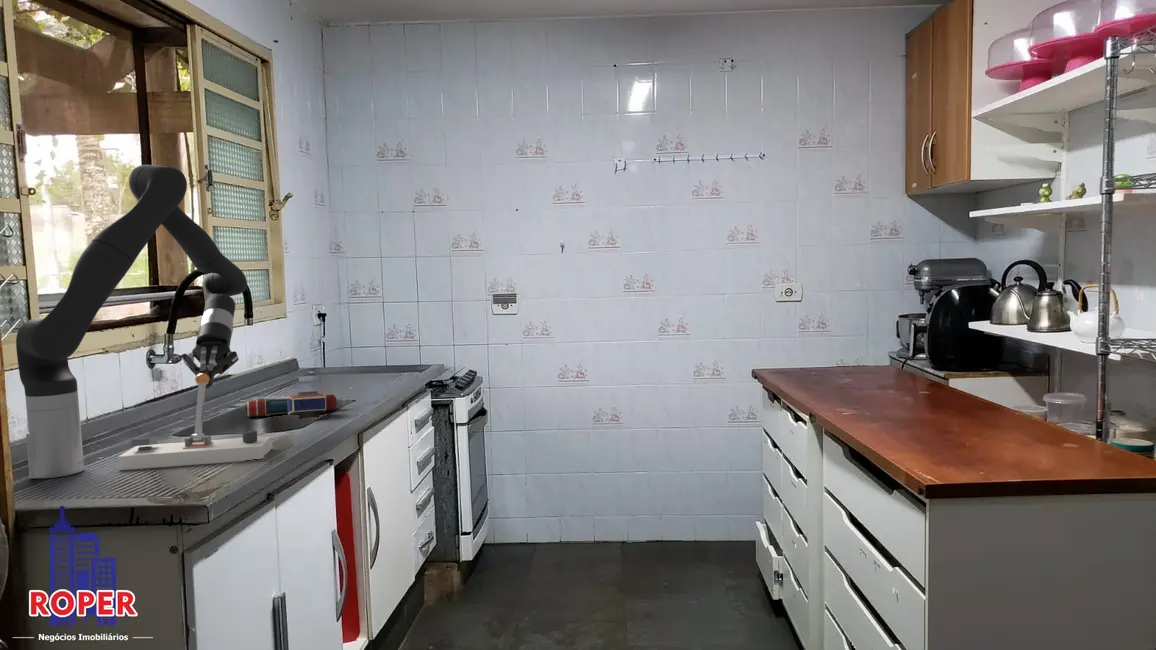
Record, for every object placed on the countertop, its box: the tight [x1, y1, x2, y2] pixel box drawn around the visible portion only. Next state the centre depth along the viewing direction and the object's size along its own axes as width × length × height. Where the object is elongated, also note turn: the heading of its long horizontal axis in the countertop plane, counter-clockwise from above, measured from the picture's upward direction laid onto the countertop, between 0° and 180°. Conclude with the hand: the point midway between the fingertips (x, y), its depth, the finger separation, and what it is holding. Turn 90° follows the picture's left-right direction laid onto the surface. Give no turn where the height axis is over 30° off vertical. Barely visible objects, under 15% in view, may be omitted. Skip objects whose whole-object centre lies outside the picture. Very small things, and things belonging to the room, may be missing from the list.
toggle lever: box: [190, 373, 210, 443], centre depth 177 cm, size 3×3×16 cm
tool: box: [244, 390, 338, 420], centre depth 225 cm, size 8×25×20 cm
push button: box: [242, 430, 258, 442], centre depth 176 cm, size 3×3×2 cm
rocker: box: [130, 437, 158, 447], centre depth 172 cm, size 5×4×1 cm
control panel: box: [117, 434, 273, 471], centre depth 174 cm, size 11×29×5 cm, turn 101°
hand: (204, 386), depth 182 cm, fingers closed
